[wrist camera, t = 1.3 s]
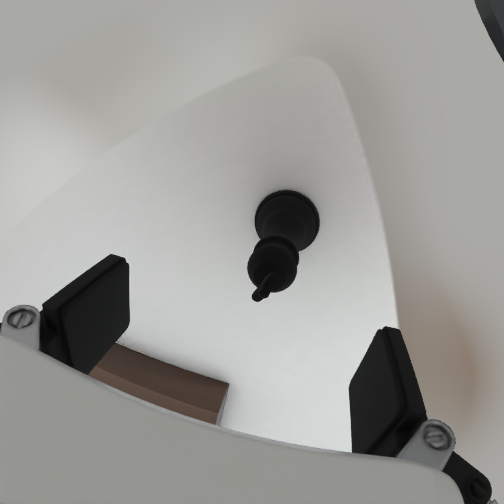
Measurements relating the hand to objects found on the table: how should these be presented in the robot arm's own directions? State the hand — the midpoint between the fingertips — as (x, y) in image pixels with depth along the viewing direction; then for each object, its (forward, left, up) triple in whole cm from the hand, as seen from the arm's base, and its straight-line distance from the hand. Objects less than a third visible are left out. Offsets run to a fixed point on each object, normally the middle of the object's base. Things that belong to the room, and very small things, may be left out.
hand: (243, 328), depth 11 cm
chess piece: (0, 0, -12) cm, 12 cm away
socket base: (+22, -10, -12) cm, 26 cm away
